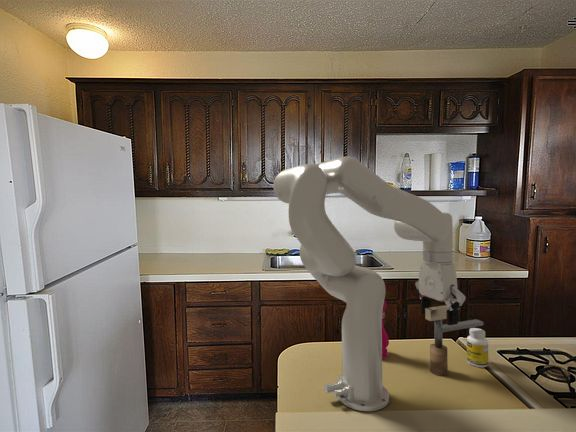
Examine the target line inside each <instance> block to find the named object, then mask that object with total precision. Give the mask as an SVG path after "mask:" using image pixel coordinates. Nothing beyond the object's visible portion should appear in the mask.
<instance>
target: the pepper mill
mask: <svg viewBox="0 0 576 432" xmlns="http://www.w3.org/2000/svg"><path fill="white" fill-rule="evenodd" d="M385 310H387V302H386V300H385V299H384V304H383V309H382V360H383V359H385V358H387V357H388V346H389V344H390V340H389V339H390V338H389V336H388V334H387V331H386V328H385V327H384V326H385V325H384V319H385V317H386V313H385Z"/></svg>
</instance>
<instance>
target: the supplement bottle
mask: <svg viewBox="0 0 576 432" xmlns="http://www.w3.org/2000/svg"><path fill="white" fill-rule="evenodd" d="M468 329H469V331H468V332H469V335H468V336H466V337H467V338H466V361H467V363H468V364H469V365H470V366H474V367H476V368H487V367H488V366H489V340H488V339H487V338H486V331H485V330H484V329H482V328H478V327H477V328H476V327H471V328H468Z"/></svg>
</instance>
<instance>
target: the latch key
mask: <svg viewBox="0 0 576 432" xmlns="http://www.w3.org/2000/svg"><path fill="white" fill-rule="evenodd" d="M447 310H449V309H448V307H447V305H446V304H445V305H439V306H438V305H437V306H431V307H430V308H425V314H424V315H425V318H424V319H425V320H427V321H429V322H434V323H433V324H434V325H433V326H434V329H433V330H434V344H435V346H436V347H443V345H444V343H443V333H446V332H453V331H458V330H463V329H464V330H465V329H470V328H476V327H477V328H478V327H483V326H484V321H482V320H480V319H469V320H464V321H463V320H462V321H458V324H455V325H447V323H445V324H443V320H447V316H446V311H447Z"/></svg>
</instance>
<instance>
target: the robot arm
mask: <svg viewBox="0 0 576 432" xmlns="http://www.w3.org/2000/svg"><path fill="white" fill-rule="evenodd" d="M272 184H273V185H272V186H273V191H274V195H275V197H276V198H277V199H278V200H280V202H282V203H284V204H285V203H286V204H288V222H289V226H290V229H291V232H292V234H293V236H295V238H296V239H297V240H298V242H299V243H300V246H299V257H300V261H301V262H302V265H303V266H304V268H305V269H306V270H307V272H309V273H310V275H311V276H312V277H313V278H314V279H315V280H316V282H317V283H319V285H320V286H321V287H322V288H323V290H325V291H326V292H327V293H328V294H329V295H330V296H332V297H334V298H336V299H338V300H340V301H342V302H344V303H346V306H345V310H344V312H343V315H342V319H341V358H342V359H341V360H342V374H341V375H338V380H336V381H335V382H332V383H331V382H330V383H325V384H324V385H323V390H324V391H325V393H326V394H330V393H333V396H334V397H335V398H338V401H340V402H341V403H342V404H343V405H344V406H346V407H348V408H349V409H352V410H354V411H355V410H356V411H360V412H375V411H380V410H381V409H384V408H385V407H387V405H388V404H389V403H390V391H388V389H387V388H386V387H385V386H384V385H383V359H382V309H383V304H384V300H385V297H386V285H385V284H386V283H385V281H384V279H383V278H382V276H381V275H380V274H379V273H378V272H376V271H374V270H373V269H371V268H367V267H363V266H360V265H356V260H357V257H356V253H355V251H354V249H353V247H352V246H351V245H350V243H349V241H348V240H346V238H345V237H344V236H343V235H342V234H341V232H340V231H339V230H338V229H337V227H336V226H335V224H333V222H332V221H331V219H330V218H329V216H328V214H327V213H326V207H325V206H326V205H325V203H326V196H327V195H330V194H338V193H339V194H342V195H343V196H345V197H346V198H348V199H349V200H350V201H352V202H354V204H356V205H358V206H359V207H360V208H361V209H363V210H365V211H366V212H367V213H369V214H371V215H374V216H375V217H379V218H383V219H388V220H393V221H394V225H393V229H394V232H395V233H396V235H397V236H398V237H400V238H401V239H402V240H407V241H413V242H414V241H417V242H422V260H421V262H420V265H419V270H418V271H419V274H418V280H417V281H416V282H415V283H414V285H415V288H416V291H417V294H418V298H419V300H420V314H421V315H425V308H430V307H432V299H433V300H435V301H438V302H442V303H443V302H444V303H445V305H446V306H447V307H448V309H449V310H447V311H446V316H447V319H446V324H447V325H455V324H458V322H459V311H458V310H460V309H461V307H462V306H463V305H464V302H465V301H466V298H467V297H466V296H465V294H464V293H462V292H461V291H460V290H459V289H458V280H457V279H458V277H457V270H456V266H455V263H454V251H453V250H454V249H453V248H454V245H453V244H454V243H453V241H454V239H453V238H454V236H453V229H454V228H453V227H454V226H453V216H452V215H451V214H450V213H448V212H443V211H441V210H440V209H439V208H438V207H436V206H435V205H434V204H432V203H431V202H430V201H428V200H426V199H424V198H422V197H420V196H418V195H415V194H412V193H410V192H408V191H405V190H403V189H400V188H398V187H394V186H393V185H392V184H390V183H388V182H387V181H386V180H384V179H383V178H381V177H380V176H379V175H378V174H376V173H375V172H373V171H372V170H371V168H369V167H367V166H366V165H365V164H363V163H362V162H361V161H359V160H358V159H357V158H355V157H353V156H347V155H346V156H340V157H337V158H333V159H329V160H326V161H322V162H319V163H305V164H304V163H303V164H299V165H297V166H293V167H290V168H287V169H284V170H282V171H279V172H278V174H277V175H276V176H275V179H274V180H273V183H272Z"/></svg>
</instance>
